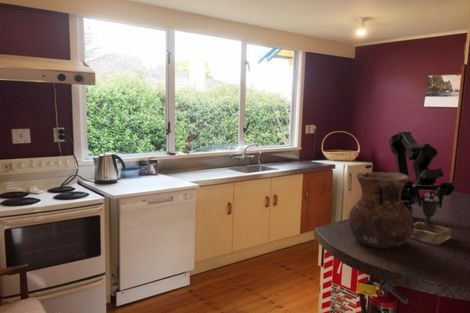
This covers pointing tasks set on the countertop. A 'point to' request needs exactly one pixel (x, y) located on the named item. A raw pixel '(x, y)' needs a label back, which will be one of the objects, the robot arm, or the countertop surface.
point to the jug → (381, 211)
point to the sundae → (429, 207)
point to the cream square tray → (430, 233)
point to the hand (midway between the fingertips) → (430, 207)
